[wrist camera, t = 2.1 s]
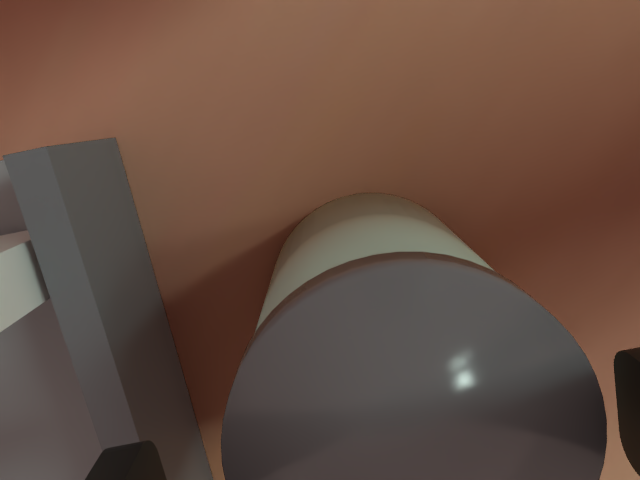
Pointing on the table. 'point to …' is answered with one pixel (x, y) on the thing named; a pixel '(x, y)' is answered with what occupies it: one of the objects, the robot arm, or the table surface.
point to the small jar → (405, 362)
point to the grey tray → (87, 326)
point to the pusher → (19, 278)
